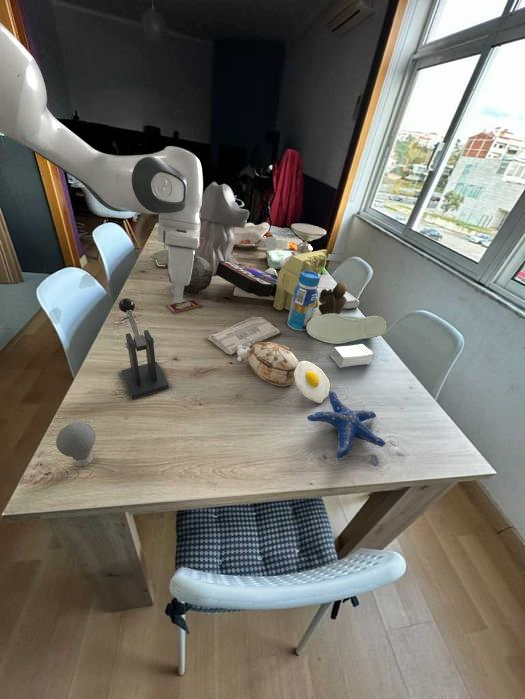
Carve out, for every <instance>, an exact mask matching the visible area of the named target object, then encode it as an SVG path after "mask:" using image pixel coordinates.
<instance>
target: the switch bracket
mask: <svg viewBox="0 0 525 699" xmlns="http://www.w3.org/2000/svg"><path fill="white" fill-rule="evenodd" d="M143 335H144V338H145V340H146V343H147V349H146V350H145V355H146V363H145V364H140V365H139V362H138V354H137V350H136V347H135V342H134V337H133V336H132V334H131V333H130V332H129V333H125V340H126V342H125V347H126V349H127V351H128V352H127V353H128V358H129V363H130V367H128V368H124V369H121V370H120V371H121V375H122V378H123V380H124V383H125V385H126V388H127V391H128V393H129V396H130V399H131V400H133V399H137V398H140V397H143V396H147V395H150V394H153V393H156V392H160V391H164V390H167V389H169V388H170V384H169V383H168V380H167V379H166V377H165V375H164V373H163V371H162V369H161V367H160V365H159V364H158V362H157V361H156V352H155V339H154V337H153V336H152V335H151V333H150V331H149V330H148V329H144V330H143Z"/></svg>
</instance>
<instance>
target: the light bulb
mask: <svg viewBox="0 0 525 699" xmlns="http://www.w3.org/2000/svg"><path fill="white" fill-rule="evenodd" d="M96 440H97V434H96V430H95V428H94V427H93V426H92V425H91V424H89V423H87V422H84V421H75V422H71V423H69V424H67V425H65V426H64V427H62V428H61V430H59V432H58V434H57V436H56V440H55V445H56V446H55V447H56V449H57V450H58V451H59V453H60V454H62V455H63V456H65V457H69V458H71V459H73V460H75V462H76V464H77V466H79V467H86V466H88V465H89V464H91V463H92V462H93V455H92V449H93V447H94V445H95V443H96Z"/></svg>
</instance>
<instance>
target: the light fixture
mask: <svg viewBox="0 0 525 699" xmlns="http://www.w3.org/2000/svg"><path fill="white" fill-rule="evenodd" d="M290 229H291V230H292V231H293V233H294V235H295V236H296V235H297V239H299V238H300V239H301V240H302V242H300V243H299V244H297V245H296V246H297V250H295V251H293V250H292V251H293V252H291V253H292V255H290V256H286V257H283V258H281V259H280V261H279V263H280V265H281V266H282V267H283V266H284V264H285V263H286V262H287V261H288V260H289V259H290V257H291V256H294V255H299V254H304V253H309V252H313V247H312V246H311V244H310V243H308V242H312V241H314V240H318V239H321V238H322V237H324V236H326V235H327V230H326V229H324V228H322V227H319V226H318V225H317V226H316V225H313V224H309V223H291V224H290Z"/></svg>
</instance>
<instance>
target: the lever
mask: <svg viewBox="0 0 525 699" xmlns="http://www.w3.org/2000/svg"><path fill="white" fill-rule="evenodd" d="M118 308H119V310H120V311H121V312H122V313H125V314H126V316H127V318H128V321H129V324H130V327H131V329H132V333H133V335H134V336H133V340H134V342H135V347H136V352H142V351H146V349H147V343H146V340H145V338H144V334H141V333H140V330H139V327H138V324H137V321H136V319H135V316H134V314H133V311H134V310H135V309H136V304H135V301H134V300H132V299H131V298H129V297H124V298H122V299H121V300H120V301H119V303H118Z"/></svg>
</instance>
